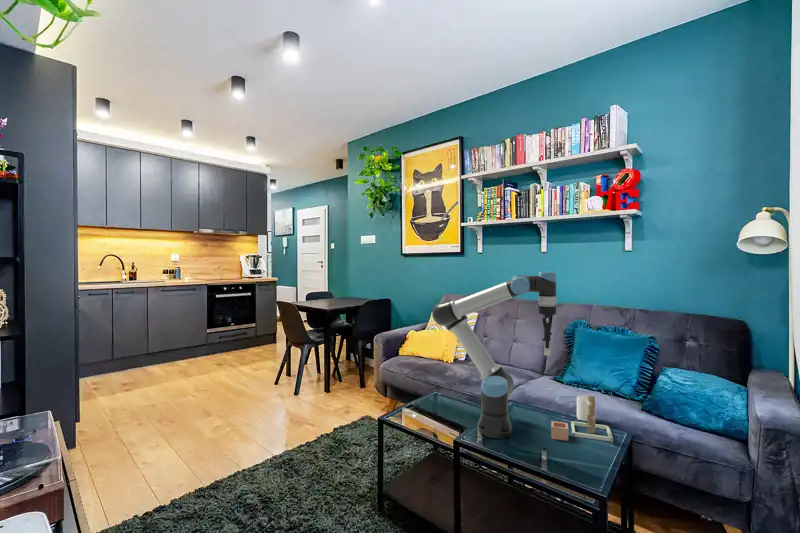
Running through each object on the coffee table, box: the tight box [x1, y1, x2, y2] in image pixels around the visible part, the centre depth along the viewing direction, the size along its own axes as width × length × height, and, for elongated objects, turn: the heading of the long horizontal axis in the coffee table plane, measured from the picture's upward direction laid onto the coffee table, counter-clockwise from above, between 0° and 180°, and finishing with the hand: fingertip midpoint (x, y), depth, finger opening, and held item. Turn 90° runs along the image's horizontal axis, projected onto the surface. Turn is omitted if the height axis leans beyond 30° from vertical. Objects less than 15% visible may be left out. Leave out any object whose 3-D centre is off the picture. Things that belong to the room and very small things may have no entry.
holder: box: [550, 420, 569, 442], centre depth 170 cm, size 7×7×6 cm
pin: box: [586, 394, 596, 435], centre depth 174 cm, size 3×3×16 cm
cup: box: [576, 395, 597, 422], centre depth 189 cm, size 8×12×10 cm
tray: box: [570, 420, 614, 445], centre depth 174 cm, size 15×13×2 cm
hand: (547, 352), depth 181 cm, fingers open, 13 cm apart
